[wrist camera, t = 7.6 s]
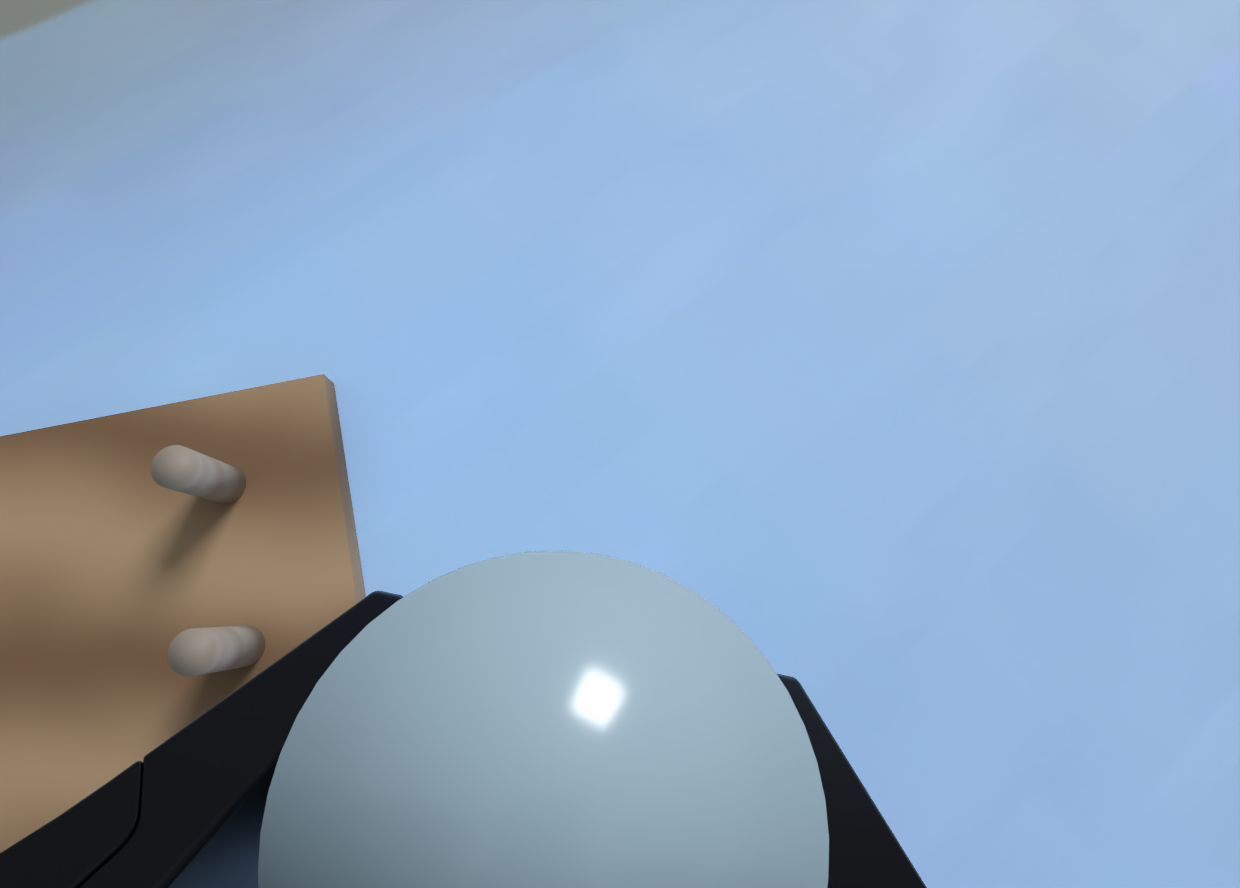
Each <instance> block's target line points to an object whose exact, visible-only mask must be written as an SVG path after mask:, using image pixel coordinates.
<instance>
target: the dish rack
mask: <svg viewBox="0 0 1240 888" xmlns="http://www.w3.org/2000/svg"><path fill="white" fill-rule="evenodd" d="M365 597H366V596H365V590H364V583H363V576H362V570H361V563H360V556H359V549H358V543H357V536H356V529H355V523H354V516H353V509H352V502H351V496H350V489H349V482H348V475H347V469H346V462H345V455H344V449H343V442H342V435H341V428H340V422H339V415H338V408H337V402H336V395H335V388H334V383H333V382H331V381H330V380H329V379H328V378H327V377H326V376H325V375H324V374H323V375H317V376H312V377H307V378H302V379H297V380H291V381H286V382H281V383H276V384H271V385H265V386H260V387H255V388H250V389H245V390H240V391H234V392H229V393H224V394H219V395H214V396H208V397H203V398H198V399H193V400H188V401H182V402H177V403H172V404H167V405H162V406H157V407H151V408H146V409H141V410H136V411H131V412H125V413H120V414H115V415H110V416H105V417H99V418H94V419H89V420H84V421H79V422H74V423H68V424H63V425H58V426H53V427H48V428H42V429H37V430H32V431H27V432H22V433H16V434H11V435H6V436H1V437H0V853H1V852H3V851H4V850H6V849H7V848H9V847H10V846H12V845H14V844H15V843H17V842H18V841H20V840H22V839H23V838H25V837H26V836H28V835H29V834H31V833H33V832H34V831H36V830H37V829H39V828H40V827H42V826H44V825H45V824H47V823H48V822H50V821H51V820H53V819H55V818H56V817H58V816H59V815H61V814H62V813H64V812H65V811H67V810H68V809H69V808H71V807H72V806H74V805H75V804H77V803H78V802H80V801H81V800H83V799H84V798H85V797H87V796H88V795H90V794H91V793H93V792H94V791H96V790H97V789H99V788H100V787H101V786H103V785H104V784H106V783H107V782H109V781H110V780H111V779H113V778H114V777H116V776H117V775H118V774H120V773H121V772H123V771H124V770H125V769H127V768H128V767H130V766H131V765H132V764H134V763H135V762H137V761H142V762H143V758H144V756H145V755H147V754H148V753H149V752H151V751H152V750H154V749H155V748H156V747H158V746H159V745H161V744H162V743H163V742H165V741H166V740H168V739H169V738H170V737H172V736H173V735H174V734H176V733H177V732H179V731H180V730H181V729H183V728H184V727H186V726H187V725H188V724H190V723H191V722H193V721H194V720H195V719H197V718H198V717H200V716H201V715H202V714H204V713H205V712H206V711H208V710H209V709H211V708H212V707H213V706H215V705H216V704H218V703H219V702H220V701H222V700H223V699H225V698H226V697H227V696H229V695H230V694H232V693H233V692H234V691H236V690H237V689H238V688H240V687H241V686H243V685H244V684H245V683H247V682H248V681H250V680H251V679H252V678H254V677H255V676H257V675H258V674H259V673H261V672H262V671H264V670H265V669H266V668H268V667H269V666H270V665H272V664H273V663H275V662H276V661H277V660H279V659H280V658H282V657H283V656H284V655H286V654H287V653H289V652H290V651H291V650H293V649H294V648H296V647H297V646H298V645H300V644H301V643H302V642H304V641H305V640H307V639H308V638H309V637H311V636H312V635H314V634H315V633H316V632H318V631H319V630H321V629H322V628H323V627H325V626H326V625H328V624H329V623H330V622H332V621H333V620H335V619H336V618H337V617H339V616H340V615H341V614H343V613H344V612H346V611H347V610H348V609H350V608H351V607H353V606H354V605H355V604H357V603H358V602H360V601H361V600H362V599H364V598H365Z"/></svg>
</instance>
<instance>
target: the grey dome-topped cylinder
mask: <svg viewBox="0 0 1240 888" xmlns="http://www.w3.org/2000/svg"><path fill="white" fill-rule="evenodd" d="M828 872H829V832H828V822H827V811H826V801H825V796H824V791H823V786H822V782H821V777H820V773H819V768H818V763H817V760H816V757H815V754H814V751H813V748H812V745H811V742H810V740H809V737H808V734H807V731H806V728H805V725H804V723H803V721H802V719H801V717H800V715H799V713H798V711H797V709H796V707H795V705H794V703H793V701H792V698H791V696H790V694H789V692H788V691H787V689H786V688H785V686H784V685H783V683H782V681H781V680H780V678H779V677H778V675H777V674H776V672H775V671H774V669H773V667H772V666H771V664H770V663H769V661H768V660H767V659H766V658H765V657H764V655H763V654H762V653H761V652H760V651H759V649H758V648H757V647H756V646H755V645H754V643H753V642H752V641H751V640H750V639H749V637H748V636H747V635H746V634H745V633H744V632H743V631H742V630H741V629H740V628H739V627H738V626H737V625H735V624H734V623H733V622H732V621H731V620H730V619H729V618H728V617H727V616H726V615H725V614H724V613H723V612H721V611H720V610H719V609H718V608H716V607H715V606H714V605H712V604H711V603H709V602H708V601H707V600H705V599H704V598H702V597H701V596H700V595H698V594H697V593H695V592H694V591H693V590H691V589H689V588H687V587H685V586H684V585H682V584H680V583H678V582H676V581H674V580H672V579H670V578H669V577H667V576H665V575H663V574H661V573H658V572H656V571H653V570H650V569H648V568H645V567H642V566H640V565H637V564H635V563H632V562H629V561H625V560H620V559H616V558H612V557H608V556H603V555H599V554H592V553H582V552H572V551H538V552H524V553H518V554H512V555H506V556H500V557H494V558H491V559H488V560H484V561H481V562H478V563H475V564H471V565H468V566H465V567H461V568H459V569H457V570H454V571H452V572H450V573H448V574H446V575H443V576H441V577H439V578H437V579H434V580H432V581H430V582H428V583H426V584H425V585H423V586H421V587H420V588H418V589H416V590H415V591H413V592H411V593H410V594H408V595H406V596H405V597H403V598H402V599H400V600H398V601H397V602H395V603H394V604H393V605H392V606H390V607H389V608H388V609H387V610H385V611H384V612H383V613H382V614H380V615H379V616H378V617H377V618H375V619H374V620H373V621H371V622H370V623H369V624H368V625H367V626H366V627H365V628H364V629H363V630H362V631H361V632H360V633H359V634H358V635H357V636H356V637H355V638H354V639H353V640H352V641H351V642H350V643H349V644H348V645H347V646H346V647H345V648H344V649H343V650H342V651H341V652H340V654H339V655H338V656H337V657H336V659H335V660H334V661H333V663H332V664H331V665H330V666H329V668H328V669H327V670H326V672H325V673H324V674H323V675H322V677H321V678H320V679H319V681H318V682H317V684H316V685H315V687H314V689H313V690H312V692H311V694H310V695H309V697H308V699H307V700H306V702H305V704H304V705H303V707H302V709H301V710H300V712H299V714H298V715H297V717H296V719H295V722H294V724H293V726H292V728H291V730H290V733H289V735H288V737H287V739H286V742H285V744H284V746H283V748H282V750H281V753H280V756H279V759H278V762H277V765H276V768H275V772H274V775H273V778H272V781H271V784H270V788H269V791H268V795H267V801H266V806H265V811H264V816H263V822H262V827H261V832H260V847H259V862H258V888H827V886H828Z"/></svg>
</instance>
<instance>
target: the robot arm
mask: <svg viewBox="0 0 1240 888" xmlns="http://www.w3.org/2000/svg"><path fill="white" fill-rule="evenodd" d="M402 598H403V596H401V595H397V594H392V593H388V592H383V591H375V592H373V593H371V594H369V595H368V596H367V597H365V598H364V599H362V600H361V601H360V602H358V603H357V604H355V605H354V606H353V607H351V608H350V609H348V610H347V611H346V612H344V613H343V614H341V615H340V616H339V617H337V618H336V619H335V620H333V621H332V622H330V623H329V624H328V625H326V626H325V627H323V628H322V629H321V630H319V631H318V632H316V633H315V634H314V635H312V636H311V637H309V638H308V639H307V640H305V641H304V642H302V643H301V644H300V645H298V646H297V647H296V648H294V649H293V650H291V651H290V652H289V653H287V654H286V655H284V656H283V657H282V658H280V659H279V660H277V661H276V662H275V663H273V664H272V665H270V666H269V667H268V668H266V669H265V670H264V671H262V672H261V673H259V674H258V675H257V676H255V677H254V678H252V679H251V680H250V681H248V682H247V683H245V684H244V685H243V686H241V687H240V688H238V689H237V690H236V691H234V692H233V693H232V694H230V695H229V696H227V697H226V698H225V699H223V700H222V701H220V702H219V703H218V704H216V705H215V706H213V707H212V708H211V709H209V710H208V711H206V712H205V713H204V714H202V715H201V716H200V717H198V718H197V719H195V720H194V721H193V722H191V723H190V724H188V725H187V726H186V727H184V728H183V729H181V730H180V731H179V732H177V733H176V734H174V735H173V736H172V737H170V738H169V739H168V740H166V741H165V742H163V743H162V744H161V745H159V746H158V747H156V748H155V749H154V750H152V751H151V752H149V753H148V754H147V755H145V756H144V758H143V762H142V761H137V762H135V763H134V764H132V765H131V766H130V767H128V768H127V769H125V770H124V771H123V772H121V773H120V774H118V775H117V776H116V777H114V778H113V779H111V780H110V781H109V782H107V783H106V784H104V785H103V786H101V787H100V788H99V789H97V790H96V791H94V792H93V793H91V794H90V795H88V796H87V797H85V798H84V799H83V800H81V801H80V802H78V803H77V804H75V805H74V806H72V807H71V808H69V809H68V810H67V811H65V812H64V813H62V814H61V815H59V816H58V817H56V818H55V819H53V820H51V821H50V822H48V823H47V824H45V825H44V826H42V827H40V828H39V829H37V830H36V831H34V832H33V833H31V834H29V835H28V836H26V837H25V838H23V839H22V840H20V841H18V842H17V843H15V844H14V845H12V846H10V847H9V848H7V849H6V850H4V851H3V852H1V853H0V888H258V862H259V847H260V832H261V827H262V822H263V816H264V811H265V806H266V801H267V795H268V791H269V788H270V784H271V781H272V778H273V775H274V772H275V768H276V765H277V762H278V759H279V756H280V753H281V750H282V748H283V746H284V744H285V742H286V739H287V737H288V735H289V733H290V730H291V728H292V726H293V724H294V722H295V719H296V717H297V715H298V714H299V712H300V710H301V709H302V707H303V705H304V704H305V702H306V700H307V699H308V697H309V695H310V694H311V692H312V690H313V689H314V687H315V685H316V684H317V682H318V681H319V679H320V678H321V677H322V675H323V674H324V673H325V672H326V670H327V669H328V668H329V666H330V665H331V664H332V663H333V661H334V660H335V659H336V657H337V656H338V655H339V654H340V652H341V651H342V650H343V649H344V648H345V647H346V646H347V645H348V644H349V643H350V642H351V641H352V640H353V639H354V638H355V637H356V636H357V635H358V634H359V633H360V632H361V631H362V630H363V629H364V628H365V627H366V626H367V625H368V624H369V623H370V622H371V621H373V620H374V619H375V618H377V617H378V616H379V615H380V614H382V613H383V612H384V611H385V610H387V609H388V608H389V607H390V606H392V605H393V604H394V603H395V602H397V601H398V600H400V599H402ZM777 675H778V677H779V678H780V680H781V681H782V683H783V685H784V686H785V688H786V689H787V691H788V692H789V694H790V696H791V698H792V701H793V703H794V705H795V707H796V709H797V711H798V713H799V715H800V717H801V719H802V721H803V723H804V725H805V728H806V731H807V734H808V737H809V740H810V742H811V745H812V748H813V751H814V754H815V757H816V760H817V763H818V768H819V773H820V777H821V782H822V786H823V791H824V796H825V801H826V811H827V822H828V832H829V872H828V886H827V888H927V887H926V886H925V884H924V883H923V881H922V879H921V878H920V876H919V875H918V873H917V871H916V870H915V868H914V866H913V865H912V863H911V862H910V860H909V858H908V857H907V855H906V854H905V852H904V850H903V849H902V847H901V846H900V844H899V842H898V841H897V839H896V837H895V836H894V834H893V833H892V831H891V829H890V828H889V826H888V825H887V823H886V821H885V820H884V818H883V816H882V815H881V813H880V812H879V810H878V808H877V807H876V805H875V804H874V802H873V800H872V799H871V797H870V796H869V794H868V792H867V791H866V789H865V787H864V786H863V784H862V783H861V781H860V779H859V778H858V776H857V775H856V773H855V771H854V770H853V768H852V767H851V765H850V763H849V762H848V760H847V758H846V757H845V755H844V754H843V752H842V750H841V749H840V747H839V746H838V744H837V742H836V741H835V739H834V737H833V736H832V734H831V733H830V731H829V729H828V728H827V726H826V725H825V723H824V721H823V720H822V718H821V717H820V715H819V713H818V712H817V710H816V708H815V707H814V705H813V704H812V702H811V700H810V699H809V697H808V696H807V694H806V692H805V691H804V689H803V688H802V686H801V684H800V683H799V681H798V680H796V679H795V678H794V677H790V676H786V675H781V674H777Z"/></svg>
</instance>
